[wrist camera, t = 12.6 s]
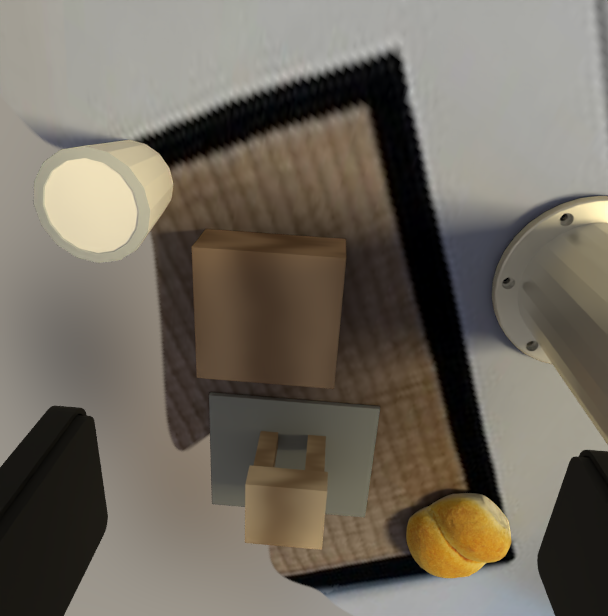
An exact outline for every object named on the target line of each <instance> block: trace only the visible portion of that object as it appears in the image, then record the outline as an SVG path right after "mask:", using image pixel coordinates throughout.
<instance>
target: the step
mask: <svg viewBox="0 0 608 616" xmlns="http://www.w3.org/2000/svg"><path fill="white" fill-rule="evenodd" d="M345 266H346V239H341V238H326V237H312V236H298V235H284V234H270V233H256V232H242V231H228V230H214V229H205V231H204V232H203V233H202V234H201V236H200V237H199V238H198V240H197V241H196V242H195V243H194V245H193V246H192V270H193V295H194V321H195V347H196V373H197V378H205V379H217V380H230V381H242V382H254V383H267V384H279V385H292V386H304V387H317V388H329V389H334V385H335V374H336V363H337V352H338V342H339V331H340V320H341V309H342V299H343V288H344V277H345Z"/></svg>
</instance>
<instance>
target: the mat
mask: <svg viewBox="0 0 608 616" xmlns="http://www.w3.org/2000/svg"><path fill="white" fill-rule="evenodd" d="M209 413H210V449H211V481H212V482H211V485H212V504H218V505H229V506H241V507H245V484H246V479H247V475H248V470H249V466H250V465H251V466H253V465H254V460H255V455H256V451H257V446H258V441H259V437H260V432H261V431H267V432H278V449H277V455H276V461H275V467H274V468H286V469H298V470H305V464H306V453H307V441H308V435H316V436H326V445H325V471H324V472H328V483H327V499H326V510H325V514H331V515H343V516H354V517H365V513H366V506H367V499H368V492H369V484H370V477H371V470H372V463H373V456H374V449H375V442H376V434H377V427H378V420H379V413H380V406H372V405H359V404H347V403H335V402H322V401H310V400H298V399H285V398H273V397H261V396H249V395H236V394H224V393H212V392H210V394H209Z"/></svg>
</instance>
